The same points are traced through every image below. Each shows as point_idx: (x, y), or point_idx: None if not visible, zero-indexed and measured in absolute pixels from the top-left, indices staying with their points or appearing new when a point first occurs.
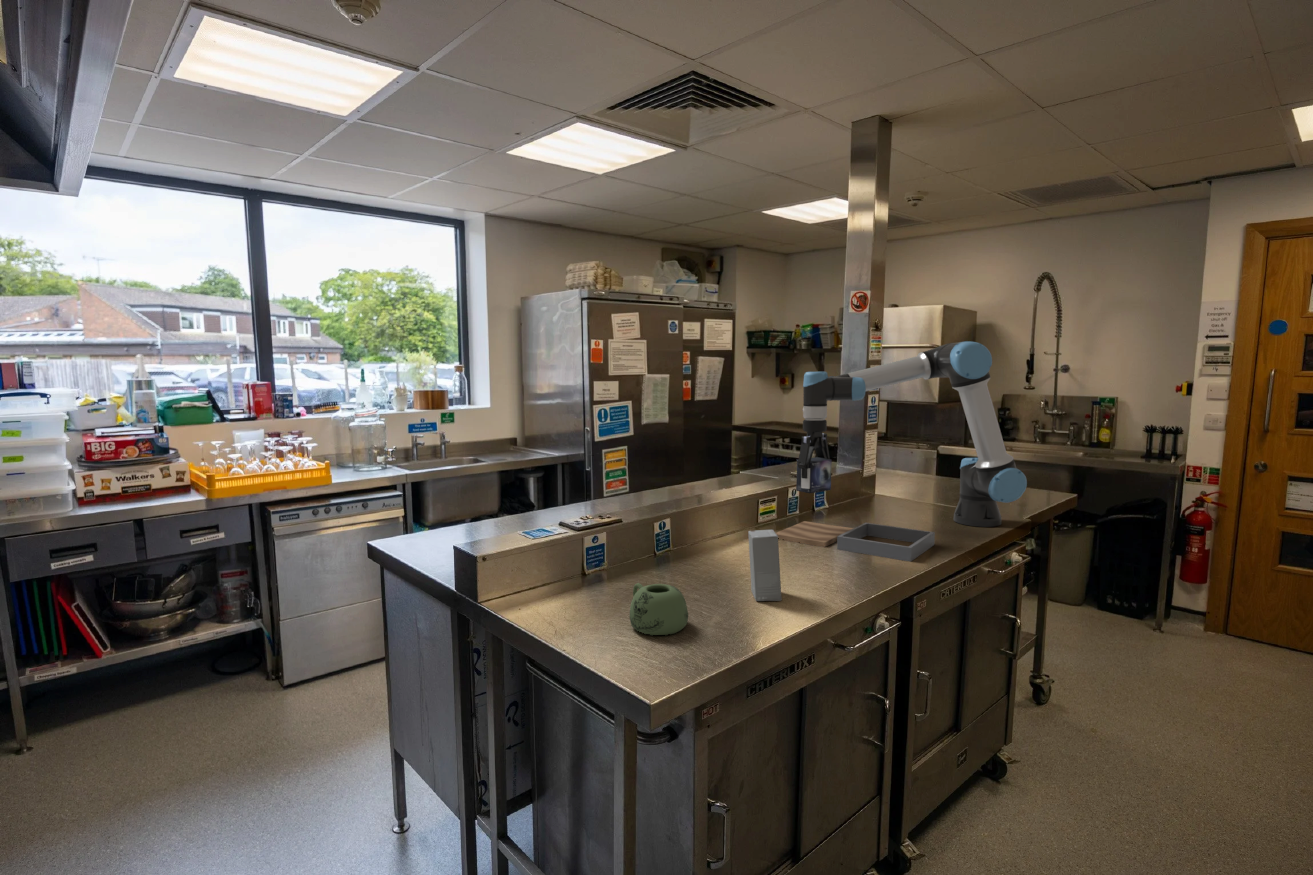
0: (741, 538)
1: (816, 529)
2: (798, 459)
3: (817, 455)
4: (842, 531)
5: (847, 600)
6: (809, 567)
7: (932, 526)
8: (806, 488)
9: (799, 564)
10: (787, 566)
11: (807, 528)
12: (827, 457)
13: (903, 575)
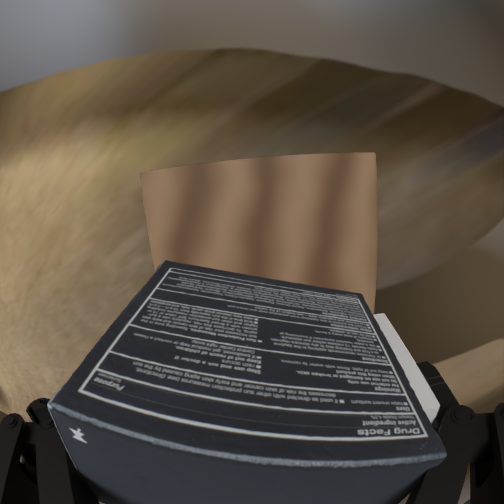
0: (89, 106)
1: (289, 251)
2: (66, 418)
3: (416, 493)
4: None
5: (30, 420)
6: (53, 358)
7: (484, 395)
8: None
9: (48, 338)
10: (29, 326)
11: (281, 219)
12: (472, 474)
13: None
